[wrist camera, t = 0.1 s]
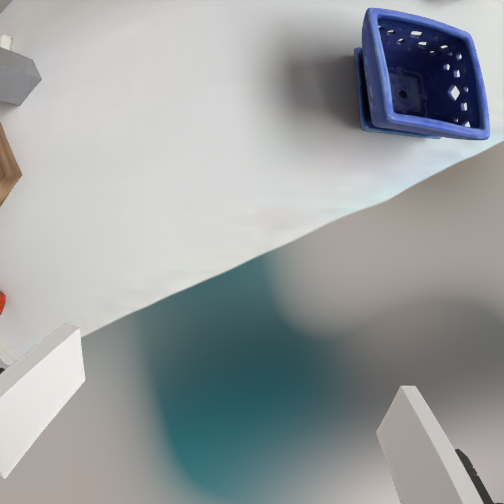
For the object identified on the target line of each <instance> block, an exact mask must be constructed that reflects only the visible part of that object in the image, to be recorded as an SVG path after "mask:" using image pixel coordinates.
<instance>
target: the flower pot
mask: <svg viewBox="0 0 504 504" xmlns="http://www.w3.org/2000/svg"><path fill="white" fill-rule="evenodd" d="M378 25H379V26H381V27H380V28H379V27H378ZM390 30H393V32H387V31H390ZM412 31H418V32H422V33H421V35H412V34H411V32H412ZM380 36H381V37H380ZM399 39H403V40H401V41H398V40H399ZM419 42H427V43H426V45H421V44H418V43H419ZM444 45H446V46H448V47H446V48H441V46H444ZM362 47H363V48H355V50H354V54H355V65H356V74H357V86H358V96H359V110H360V122H361V128H362V130H364V131H369V132H379V133H389V134H398V135H406V136H415V137H423V138H432V139H440V138H441V137H446V138H454V139H464V140H486V139H488V138H489V136H490V124H489V113H488V105H487V98H486V92H485V87H484V82H483V78H482V73H481V69H480V65H479V61H478V57H477V53H476V49H475V46H474V43H473V39H472V37H471V35H470V34H469V33H467V32H465V31H462V30H460V29H457V28H455V27H452V26H449V25H446V24H444V23H441V22H437V21H435V20H431V19H428V18H425V17H421V16H417V15H412V14H408V13H403V12H399V11H393V10H387V9H380V8H368V9H367V11H366V14H365V17H364V21H363V27H362ZM430 51H434V52H432V53H431V52H430ZM460 54H461V56H462V58H461V59H460V58H459V55H460ZM447 64H449V65H450V68H449V70H447ZM458 70H459V73H460V77H457V71H458ZM454 86H456V87H457V88H458V90H459V92H460V94H459V96H458V97H457V99H456V101H455V99H454V98H453V96H452V95H451V91H452V90H453V88H454ZM467 88H468V92H467ZM464 103H467V110H466V111H465V108H464ZM457 119H458V122H457ZM468 121H469V123H470V127H465V124H466V123H467V122H468Z"/></svg>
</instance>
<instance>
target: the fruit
mask: <svg viewBox="0 0 504 504" xmlns="http://www.w3.org/2000/svg"><path fill="white" fill-rule="evenodd" d="M4 305H5V296H4V294H2V293H1V292H0V315H1V313H2V311H3V308H4Z"/></svg>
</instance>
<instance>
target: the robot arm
mask: <svg viewBox="0 0 504 504" xmlns="http://www.w3.org/2000/svg"><path fill="white" fill-rule="evenodd" d="M84 381H85V374H84V366H83V357H82V348H81V337H80V328H79V327H76V326H73V325H71V324H68V323H64V324H63V325H62V326H60V327H59V328H58V329H56V330H55V331H54V332H52V333H51V334H50V335H48V336H47V337H46V338H45V339H43V340H42V341H41V342H39V343H38V344H37V345H36V346H34V347H33V348H32V349H31V350H29V351H28V352H27V353H26V354H24V355H23V356H22V357H21V358H19V359H18V360H17V361H16V362H14V363H13V364H12V365H11V366H10V367H9V368H7V369H6V370H5V369H3V368H0V476H1V477H3V478H4V479H6V477H7V476H8V475H9V473H10V472H11V471H12V469H13V468H14V467H15V465H16V464H17V463H18V462H19V460H20V459H21V458H22V456H23V455H24V454H25V453H26V451H27V450H28V449H29V448H30V446H31V445H32V444H33V443H34V441H35V440H36V439H37V438H38V436H39V435H40V434H41V433H42V431H43V430H44V429H45V428H46V427H47V425H48V424H49V423H50V422H51V420H52V419H53V418H54V417H55V415H56V414H57V413H58V412H59V411H60V410H61V408H62V407H63V406H64V405H65V403H66V402H67V401H68V400H69V399H70V397H71V396H72V395H73V394H74V393H75V392H76V391H77V389H78V388H79V387H80V386H81V385H82V384H83V382H84ZM376 434H377V437H378V440H379V442H380V445H381V448H382V450H383V453H384V456H385V459H386V461H387V464H388V467H389V470H390V473H391V476H392V479H393V482H394V485H395V487H396V490H397V493H398V496H399V499H400V502H401V504H494V503H493V501H492V500H491V498H490V496H489V494H488V492H487V490H486V489H485V487H484V485H483V483H482V481H481V480H480V478H479V476H477V472H476V471H475V469H474V468H473V465H472V464H471V462H470V460H469V459H468V457H467V456H466V455H465V454H464V453H463V452H461V451H460V450H459V449H456V450H454V448H453V447H452V445H451V443H450V442H449V440H448V438H447V436H446V435H445V433H444V431H443V430H442V428H441V426H440V425H439V423H438V421H437V420H436V418H435V417H434V415H433V414H432V412H431V410H430V408H429V407H428V405H427V404H426V402H425V401H424V399H423V397H422V396H421V394H420V393H419V391H418V389H417V388H416V386H401V387H400V388H399V390H398V392H397V394H396V396H395V398H394V400H393V402H392V404H391V406H390V408H389V410H388V412H387V414H386V416H385V417H384V419H383V421H382V423H381V425H380V426H379V428H378V430H377V432H376ZM496 504H503V503H496Z"/></svg>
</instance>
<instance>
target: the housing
mask: <svg viewBox="0 0 504 504" xmlns="http://www.w3.org/2000/svg"><path fill="white" fill-rule="evenodd" d="M41 80H42V78H41V76H40V74H39V72H38V70H37V68H36V66H35V64H34V62H33V60H32V59H29V58H27V57H25V56H22V55H20V54H17V53H15V52H12V51H10V50H7V49H5V48H2V47H0V101H2V102H7V103H11V104H16V105H21V104H22V103H23V101H24V100H25V99H26V98H27V96H28V95H29V94H30V93H31V92H32V90H33V89H34V88H35V87H36V86H37V84H38V83H39V82H40V81H41Z"/></svg>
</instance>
